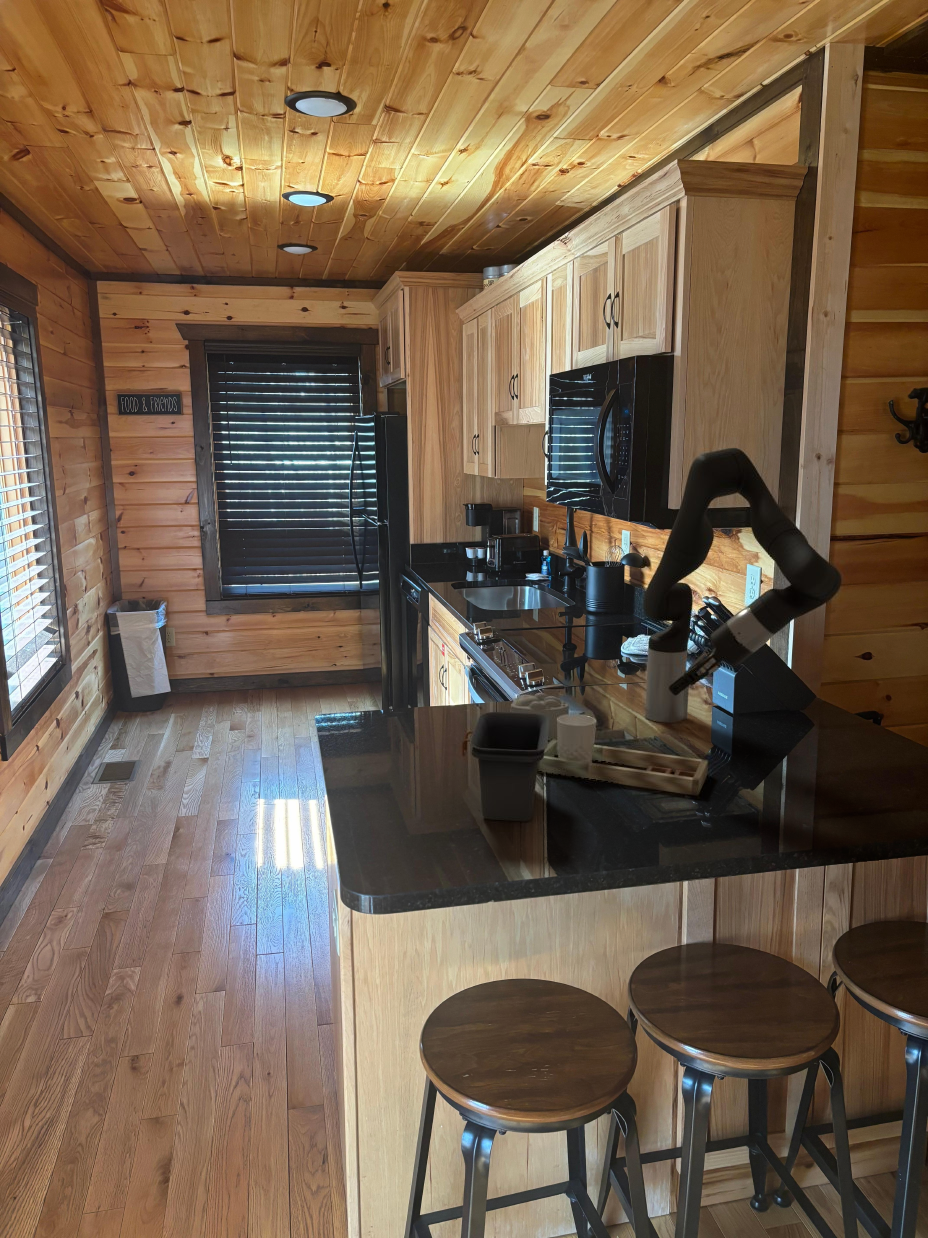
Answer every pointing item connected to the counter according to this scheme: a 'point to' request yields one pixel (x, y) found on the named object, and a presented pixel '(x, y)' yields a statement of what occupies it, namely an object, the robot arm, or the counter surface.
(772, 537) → the robot arm
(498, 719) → the storage bin
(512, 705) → the lumpy-topped squat cylinder
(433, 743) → the counter surface
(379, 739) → the counter surface
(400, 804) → the counter surface
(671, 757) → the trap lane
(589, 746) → the white cup
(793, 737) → the counter surface
